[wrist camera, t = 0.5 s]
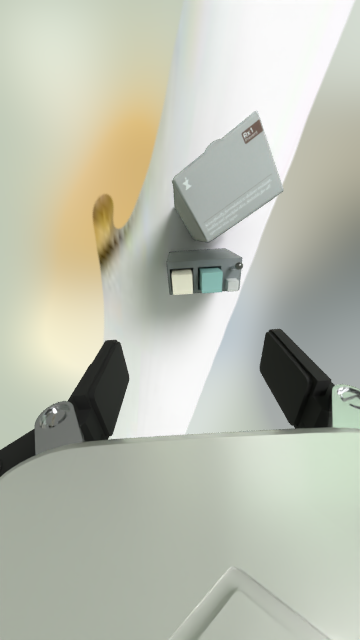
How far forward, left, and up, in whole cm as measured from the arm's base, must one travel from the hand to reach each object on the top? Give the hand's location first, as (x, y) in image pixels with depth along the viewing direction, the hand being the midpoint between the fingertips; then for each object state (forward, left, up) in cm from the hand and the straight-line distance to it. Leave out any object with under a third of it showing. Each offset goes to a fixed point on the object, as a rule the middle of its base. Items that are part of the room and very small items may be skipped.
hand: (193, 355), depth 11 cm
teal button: (0, +4, -17) cm, 18 cm away
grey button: (+1, +7, -16) cm, 18 cm away
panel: (0, +3, -26) cm, 26 cm away
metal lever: (-1, +7, -16) cm, 18 cm away
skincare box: (-9, +4, -27) cm, 28 cm away
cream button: (0, 0, -17) cm, 17 cm away
